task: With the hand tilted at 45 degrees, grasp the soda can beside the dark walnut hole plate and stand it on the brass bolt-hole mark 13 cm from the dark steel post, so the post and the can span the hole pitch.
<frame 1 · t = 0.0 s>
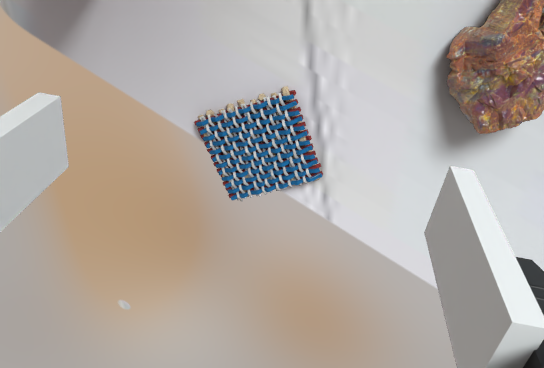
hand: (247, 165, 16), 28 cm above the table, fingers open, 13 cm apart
mineral specimen: (497, 48, 40), on the table
woven mat: (260, 142, 48), on the table
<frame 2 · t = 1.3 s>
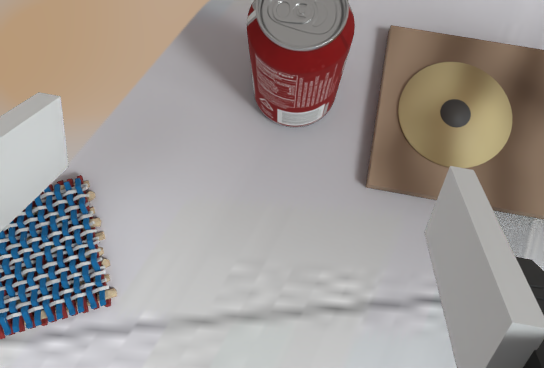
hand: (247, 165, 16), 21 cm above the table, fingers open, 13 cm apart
soda can: (294, 93, 39), on the table
hole plate: (511, 129, 38), on the table
woven mat: (44, 256, 37), on the table
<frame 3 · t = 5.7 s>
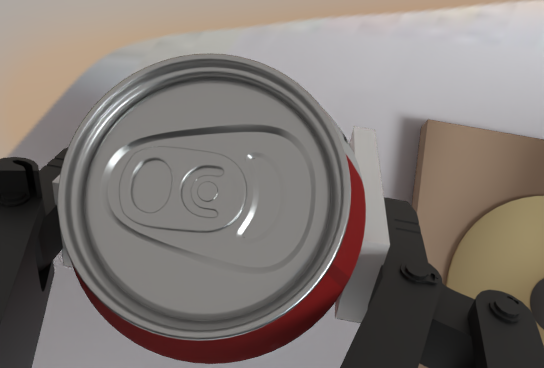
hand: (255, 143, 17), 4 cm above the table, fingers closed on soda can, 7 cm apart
soda can: (243, 248, 21), on the table, touching gripper
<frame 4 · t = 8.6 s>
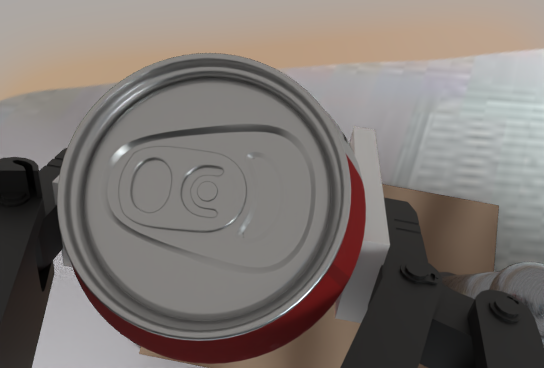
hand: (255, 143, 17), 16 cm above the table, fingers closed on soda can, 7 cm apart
steel post: (439, 299, 32), resting on hole plate
soda can: (243, 248, 21), point 12 cm above the table, touching gripper
hole plate: (324, 277, 32), on the table
when the fingers open (6 cm above the table, at t = 11.3 s): soda can drops 1 cm, resting on hole plate.
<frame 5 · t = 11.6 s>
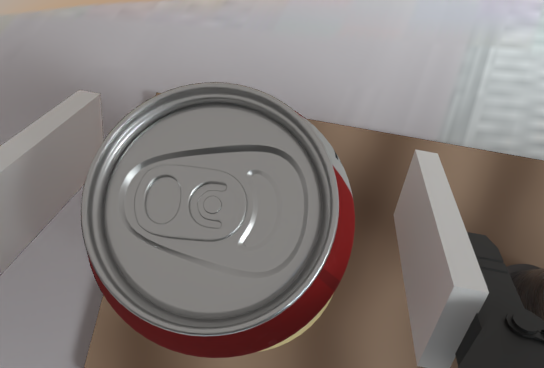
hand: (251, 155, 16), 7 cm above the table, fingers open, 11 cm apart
steel post: (513, 303, 22), resting on hole plate
soda can: (246, 253, 22), point 1 cm above the table, touching hole plate
hole plate: (347, 272, 23), on the table
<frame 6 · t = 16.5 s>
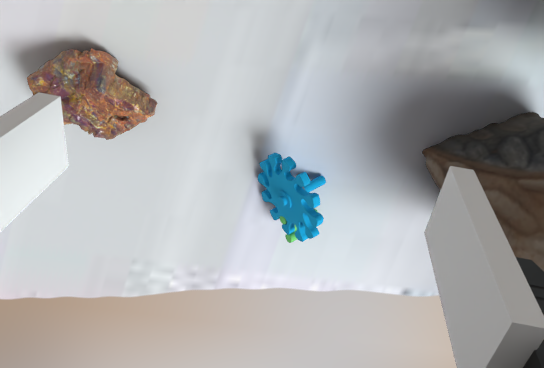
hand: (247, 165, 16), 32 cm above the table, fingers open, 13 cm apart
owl: (485, 161, 49), on the table
mineral specimen: (105, 85, 50), on the table
gear: (292, 182, 53), on the table
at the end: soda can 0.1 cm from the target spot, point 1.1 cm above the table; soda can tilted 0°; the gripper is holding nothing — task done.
